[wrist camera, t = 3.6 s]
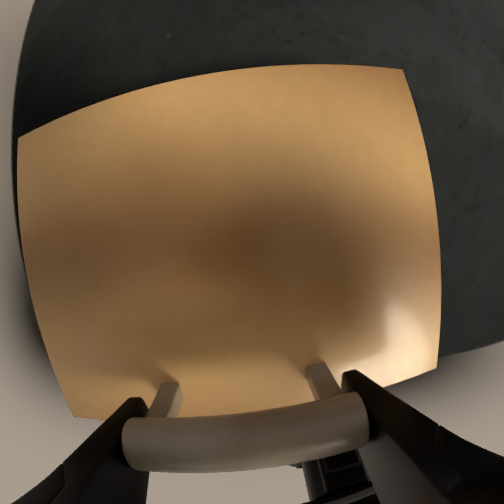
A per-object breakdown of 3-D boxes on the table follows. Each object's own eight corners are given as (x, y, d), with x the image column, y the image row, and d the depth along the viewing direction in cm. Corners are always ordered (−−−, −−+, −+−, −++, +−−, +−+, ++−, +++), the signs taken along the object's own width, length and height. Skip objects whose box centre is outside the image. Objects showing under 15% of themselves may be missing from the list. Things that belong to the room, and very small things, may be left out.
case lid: (427, 361, 10) (492, 411, 6) (80, 407, 10) (31, 467, 5) (394, 77, 9) (455, 21, 4) (28, 141, 9) (-46, 116, 4)
